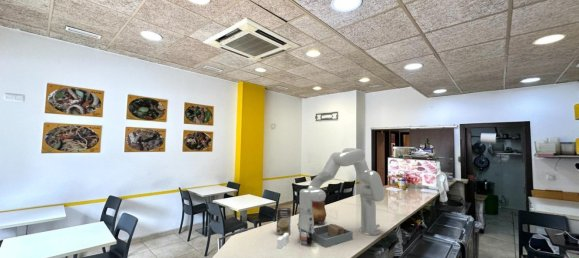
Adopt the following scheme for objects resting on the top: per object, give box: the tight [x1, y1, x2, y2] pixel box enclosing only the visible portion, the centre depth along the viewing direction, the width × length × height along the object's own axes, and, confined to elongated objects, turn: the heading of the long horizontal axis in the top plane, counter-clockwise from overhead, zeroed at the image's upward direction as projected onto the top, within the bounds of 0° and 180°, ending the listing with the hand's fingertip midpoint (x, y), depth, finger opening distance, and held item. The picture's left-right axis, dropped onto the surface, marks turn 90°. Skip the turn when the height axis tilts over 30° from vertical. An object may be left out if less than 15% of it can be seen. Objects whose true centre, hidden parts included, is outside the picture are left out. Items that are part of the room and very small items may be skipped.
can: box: [299, 230, 312, 247], centre depth 143 cm, size 6×6×7 cm
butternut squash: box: [312, 188, 327, 225], centre depth 180 cm, size 14×13×25 cm
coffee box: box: [276, 207, 292, 236], centre depth 159 cm, size 9×6×16 cm
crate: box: [312, 223, 354, 249], centre depth 150 cm, size 22×18×5 cm
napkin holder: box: [276, 233, 290, 250], centre depth 141 cm, size 15×11×6 cm
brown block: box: [328, 223, 345, 237], centre depth 153 cm, size 6×8×6 cm
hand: (305, 240), depth 143 cm, fingers closed on can, 6 cm apart
